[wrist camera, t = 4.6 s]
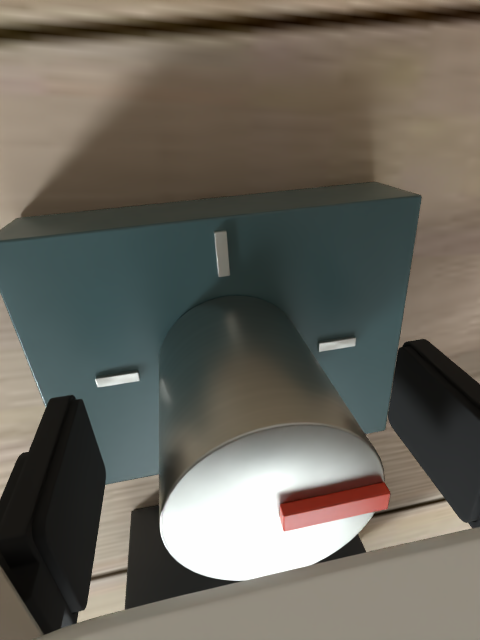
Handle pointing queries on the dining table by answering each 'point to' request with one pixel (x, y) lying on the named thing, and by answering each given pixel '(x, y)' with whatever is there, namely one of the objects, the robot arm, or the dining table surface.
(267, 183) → the dining table surface
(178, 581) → the push button box
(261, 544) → the dial
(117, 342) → the dial console
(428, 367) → the robot arm
